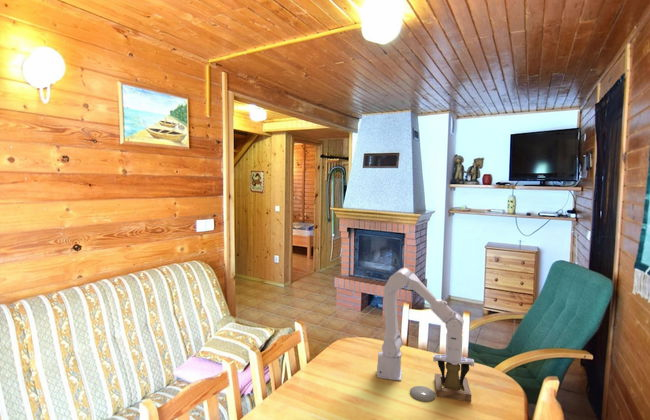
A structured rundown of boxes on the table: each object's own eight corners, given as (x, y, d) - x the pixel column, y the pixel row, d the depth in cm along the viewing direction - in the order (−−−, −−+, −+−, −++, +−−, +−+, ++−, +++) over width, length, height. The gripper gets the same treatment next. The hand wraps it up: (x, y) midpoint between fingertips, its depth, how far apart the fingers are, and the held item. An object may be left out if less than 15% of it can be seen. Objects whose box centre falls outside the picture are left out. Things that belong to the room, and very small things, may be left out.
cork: (461, 395, 134) (462, 366, 133) (444, 393, 135) (445, 365, 135) (458, 386, 140) (460, 359, 139) (442, 384, 141) (443, 357, 141)
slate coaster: (410, 399, 131) (410, 397, 131) (410, 386, 140) (410, 384, 140) (435, 403, 129) (435, 401, 129) (434, 389, 138) (434, 387, 138)
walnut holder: (436, 396, 133) (436, 389, 133) (434, 379, 145) (434, 373, 145) (471, 401, 131) (471, 394, 130) (466, 383, 142) (466, 377, 142)
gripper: (434, 349, 134) (433, 384, 135) (476, 353, 131) (474, 389, 132) (433, 341, 141) (432, 374, 142) (473, 345, 138) (471, 379, 139)
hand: (452, 381), depth 138 cm, fingers open, 6 cm apart
